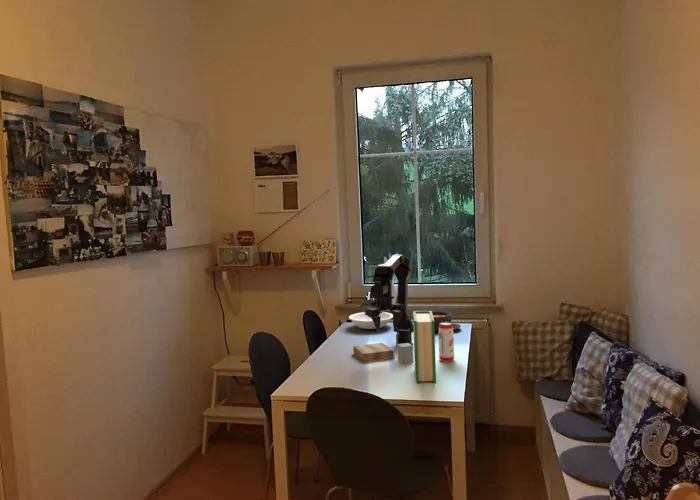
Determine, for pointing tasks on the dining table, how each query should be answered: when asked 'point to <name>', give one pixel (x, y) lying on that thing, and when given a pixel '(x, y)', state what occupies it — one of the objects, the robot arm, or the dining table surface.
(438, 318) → the casserole
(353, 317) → the soup bowl
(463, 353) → the dining table surface
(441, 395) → the dining table surface
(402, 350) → the grey block
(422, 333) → the hardback book
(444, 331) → the beer can
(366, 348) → the brown block
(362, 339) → the dining table surface
